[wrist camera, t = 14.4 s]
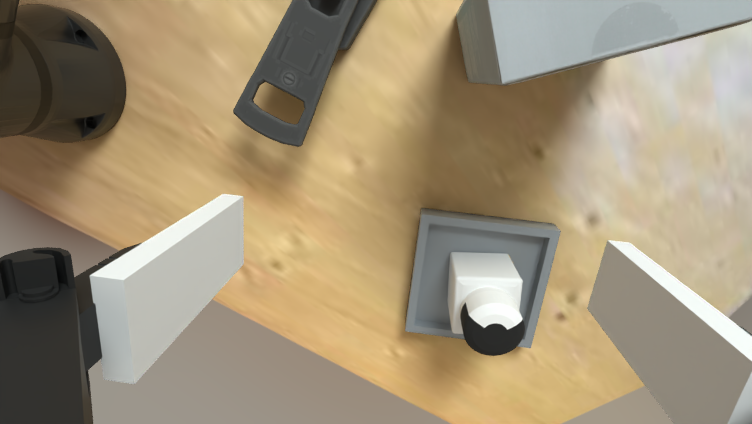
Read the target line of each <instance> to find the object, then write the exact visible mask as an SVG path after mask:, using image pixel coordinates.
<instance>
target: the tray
mask: <svg viewBox="0 0 752 424" xmlns="http://www.w3.org/2000/svg"><path fill="white" fill-rule="evenodd" d="M560 232H561V231H560V230H559V229H558V228H557V227H556V226H555V225H554V224H552V223H543V222H535V221H527V220H518V219H510V218H502V217H493V216H485V215H476V214H468V213H460V212H451V211H443V210H435V209H426V208H421V213H420V221H419V228H418V235H417V242H416V249H415V256H414V264H413V271H412V278H411V285H410V292H409V299H408V307H407V314H406V322H405V331H407V332H414V333H422V334H429V335H437V336H444V337H451V338H459V339H465V338H464V335H463V334H455V333H453V332H452V328H451V322H450V315H449V309H448V302H447V298H448V280H449V263H450V253H451V252H472V253H504V254H508V255H509V256H510V258H511V260H512V261H513V263H514V265H515V267H516V269H517V271H518V273H519V274H520V276H521V278H522V281H523V283H522V292H521V300H520V308H519V312H520V314H521V316H522V318H523V321H524V324H525V333H524V337H523V339H522V341H521V342H520V344H519V345H518V347H526V348H531V345H532V341H533V337H534V333H535V329H536V325H537V322H538V318H539V314H540V310H541V306H542V302H543V298H544V294H545V290H546V286H547V283H548V279H549V275H550V271H551V267H552V263H553V259H554V255H555V251H556V248H557V244H558V240H559V236H560Z"/></svg>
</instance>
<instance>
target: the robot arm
mask: <svg viewBox="0 0 752 424" xmlns="http://www.w3.org/2000/svg"><path fill="white" fill-rule="evenodd" d="M18 4H19V0H0V138H2V137H8V136H15V135H23V136H28V137H33V138H39V139H44V140H49V141H54V142H62V143H72V142H79V141H84V140H90V139H93V138H96V137H99V136H101V135H103V134H104V133H106V132H107V131H108V130H110V129H111V128H112V127H113V126H114V124H115V123H116V122H117V120H118V119H119V117H120V115H121V113H122V110H123V107H124V103H125V97H126V82H125V76H124V71H123V67H122V64H121V62H120V59H119V57H118V55H117V53H116V51H115V49H114V47H113V46H112V44H111V43H110V41H109V40H108V38H107V37H106V36H105V35H104V34H103V33H102V31H101V30H100V29H99V28H98V27H97V26H95V25H94V24H93V23H92V22H90V21H89V20H88V19H86V18H85V17H83V16H81V15H80V14H78V13H75V12H73V11H71V10H68V9H64V8H60V7H54V6H49V5H43V4H27V5H21V6H18ZM243 264H244V239H243V196H237V195H228V194H222V195H220V196H219V197H217V198H215V199H214V200H212V201H211V202H209V203H207V204H206V205H204V206H202V207H201V208H199V209H198V210H196V211H194V212H193V213H191V214H189V215H188V216H186V217H184V218H183V219H181V220H180V221H178V222H176V223H175V224H173V225H171V226H170V227H168V228H167V229H165V230H163V231H162V232H160V233H158V234H157V235H155V236H153V237H152V238H150V239H149V240H147V241H145V242H144V243H140V244H137V245H134V246H130V247H127V248H124V249H122V250H120V251H119V252H117V253H115V254H113V255H112V256H110V257H109V259H105V260H103V261H102V262H100V263H98V265H95V266H93V267H92V268H90V269H88V270H86V271H85V272H83V273H81V274H80V275H78V276H76V277H74V273H73V266H72V260H71V254H70V253H69V252H68V251H66V250H63V249H61V248H48V247H47V248H33V249H27V250H22V251H17V252H14V253H11V254H8V255H5V256H3V257H1V258H0V424H93V416H92V404H91V392H90V381H89V374H88V370H89V369H90V368H91V367H92V366H93V365H94V364H95V363H96V362H98V361H99V360H100V359H101V364H102V371H103V378H104V380H111V381H118V382H125V383H131V384H135V383H136V382H137V381H138V379H140V378H141V376H142V375H143V374H144V373H145V372H146V371H147V370H148V369H149V368H150V366H151V365H152V364H153V363H154V362H155V361H156V359H158V357H160V355H161V354H162V353H163V352H164V351H165V350H166V349H167V348H168V347H169V346H170V344H171V343H172V342H173V341H174V340H175V339H176V338H177V337H178V336H179V335H180V333H181V332H182V331H183V330H184V329H185V328H186V327H187V326H188V325H189V324H190V322H191V321H192V320H193V319H194V318H195V317H196V316H197V315H198V314H199V313H200V312H201V310H202V309H203V308H204V307H205V306H206V305H207V304H208V303H209V302H210V300H211V299H212V298H213V297H214V296H215V295H216V294H217V293H218V292H219V291H220V290H221V288H222V287H223V286H224V285H225V284H226V283H227V282H228V281H229V280H230V279H231V277H232V276H233V275H234V274H235V273H236V272H237V271H238V270H239V269H240V268H241V266H242V265H243ZM587 309H588V310H589V312H590V313H591V314H592V316H593V317H594V318H595V320H596V321H597V322H598V324H599V325H600V326H601V327H602V329H603V330H604V331H605V333H606V334H607V335H608V337H609V338H610V339H611V341H612V342H613V343H614V345H615V346H616V347H617V349H618V350H619V351H620V353H621V354H622V355H623V357H624V358H625V359H626V361H627V362H628V363H629V365H630V366H631V367H632V369H633V370H634V371H635V373H636V374H637V375H638V377H639V378H640V379H641V381H642V382H643V383H644V385H645V386H646V387H647V389H648V390H649V391H650V393H651V394H652V395H653V396H654V398H655V399H656V401H657V402H658V403H659V405H660V406H661V407H662V409H663V410H664V411H665V413H666V414H667V415H668V417H669V418H670V419H671V421H672V422H673V423H674V424H752V334H750V333H749V332H748V331H746V330H745V329H744V328H742V327H740V326H738V325H737V324H735V323H734V322H732V321H731V320H730V319H729V318H727V317H726V316H725V315H723V314H722V313H721V312H719V311H718V310H717V309H715V308H714V307H713V306H712V305H710V304H709V303H708V302H706V301H705V300H704V299H702V298H701V297H700V296H698V295H697V294H696V293H695V292H693V291H692V290H691V289H689V288H688V287H687V286H685V285H684V284H683V283H681V282H680V281H679V280H678V279H676V278H675V277H674V276H672V275H671V274H670V273H668V272H667V271H666V270H665V269H663V268H662V267H661V266H659V265H658V264H657V263H655V262H654V261H653V260H651V259H650V258H649V257H648V256H646V255H645V254H644V253H642V252H641V251H640V250H638V249H637V248H636V247H634V246H633V245H632V244H631V243H626V242H618V241H610V240H607V244H606V247H605V250H604V254H603V257H602V260H601V264H600V267H599V270H598V274H597V277H596V281H595V284H594V287H593V291H592V294H591V297H590V301H589V304H588V307H587Z"/></svg>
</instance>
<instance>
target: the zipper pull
mask: <svg viewBox="0 0 752 424" xmlns="http://www.w3.org/2000/svg"><path fill="white" fill-rule="evenodd" d="M376 2H377V0H293V1H292V2H291V4H290V6H289V8H288V10H287V12H286V14H285V15H284V17H283V19H282V21H281V23H280V25H279V27H278V28H277V30H276V32H275V34H274V36H273V38H272V40H271V41H270V43H269V45H268V47H267V49H266V51H265V53H264V54H263V56H262V58H261V60H260V62H259V64H258V66H257V67H256V69H255V71H254V73H253V75H252V76H251V78H250V80H249V82H248V83H247V85H246V87H245V89H244V91H243V93H242V95H241V97H240V99H239V100H238V102H237V104H236V106H235V108H234V110H233V112H234V114H235V115H236V116H237V117H238V118H239V119H240V120H241V121H243V122H244V123H245V124H246V125H247V126H249V127H250V128H252V129H253V130H255V131H257V132H258V133H260V134H262V135H264V136H266V137H268V138H270V139H272V140H275V141H277V142H280V143H282V144H287V145H292V146H297V147H300V146H301V145H302V144H303V141H304V139H305V136H306V134H307V131H308V128H309V126H310V123H311V121H312V118H313V115H314V113H315V110H316V107H317V104H318V101H319V99H320V96H321V93H322V91H323V88H324V85H325V83H326V80H327V77H328V75H329V72H330V70H331V67H332V64H333V62H334V59H335V56H336V54H337V51H338V50H347V49H349V48H350V46H351V45H352V43H353V41H354V40H355V38H356V36H357V34H358V33H359V31H360V29H361V28H362V26H363V24H364V22H365V21H366V19H367V17H368V15H369V14H370V12H371V10H372V9H373V7H374V5H375V3H376ZM264 82H267V83H269V84H271V85H273V86H275V87H277V88H279V89H281V90H282V91H284V92H286V93H288V94H290V95H292V96H294V97H296V98H298V99H300V100H302V101H303V102H304V107H305V109H304V112H303V114H302V116H301V118H300V120H299V122H298V124H296V125H295V124H290V123H286V122H284V121H282V120H280V119H278V118H276V117H274V116H273V115H271V114H269V113H267V112H265V111H263V110H262V109H260V108H259V107H258V106H257V105H256V104H255V103H254V101H253V99H254V97H255V95H256V92H257V90H258V88H259V86H260V85H261V84H263V83H264Z"/></svg>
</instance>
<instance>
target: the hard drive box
mask: <svg viewBox="0 0 752 424" xmlns="http://www.w3.org/2000/svg"><path fill="white" fill-rule="evenodd" d="M456 18H457V24H458V30H459V36H460V41H461V47H462V52H463V58H464V63H465V69H466V74H467V78H468V82H471V83H481V84H496V85H510V84H515V83H519V82H524V81H527V80H531V79H535V78H539V77H543V76H547V75H550V74H554V73H558V72H562V71H566V70H570V69H574V68H577V67H581V66H585V65H588V64H592V63H596V62H600V61H604V60H608V59H611V58H615V57H619V56H623V55H627V54H631V53H635V52H639V51H643V50H647V49H651V48H654V47H658V46H662V45H666V44H670V43H674V42H677V41H681V40H685V39H689V38H693V37H697V36H701V35H705V34H709V33H712V32H716V31H719V30H723V29H727V28H730V27H734V26H737V25H741V24H744V23H747V22H750V21H752V0H464V1H463V3H462V4H461V6H460V8H459V10H458V12H457V13H456Z"/></svg>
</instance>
